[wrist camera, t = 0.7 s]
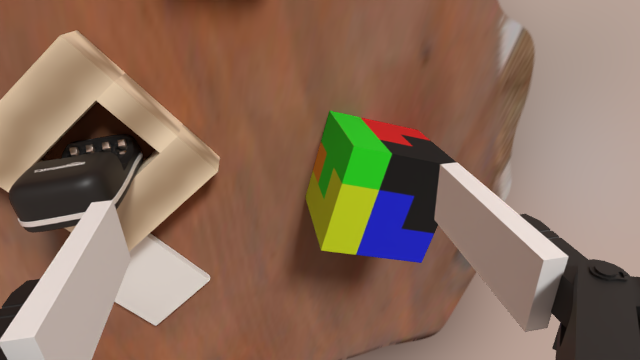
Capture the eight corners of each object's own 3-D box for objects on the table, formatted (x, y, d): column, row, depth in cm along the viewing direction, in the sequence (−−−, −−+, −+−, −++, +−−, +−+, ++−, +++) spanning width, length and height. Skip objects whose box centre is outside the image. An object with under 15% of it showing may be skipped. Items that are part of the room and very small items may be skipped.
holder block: (-25, 139, 36) (-50, 154, 33) (77, 30, 34) (60, 35, 31) (126, 242, 43) (117, 262, 40) (219, 157, 41) (217, 171, 38)
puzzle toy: (387, 210, 47) (421, 262, 38) (305, 197, 45) (321, 250, 36) (417, 129, 43) (462, 167, 34) (329, 110, 41) (353, 146, 32)
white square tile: (90, 281, 44) (88, 285, 44) (146, 230, 43) (144, 234, 42) (157, 321, 48) (155, 326, 48) (210, 275, 47) (209, 280, 46)
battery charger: (135, 123, 38) (95, 174, 28) (147, 160, 40) (115, 220, 29) (57, 135, 37) (-13, 193, 27) (73, 172, 39) (14, 239, 29)
